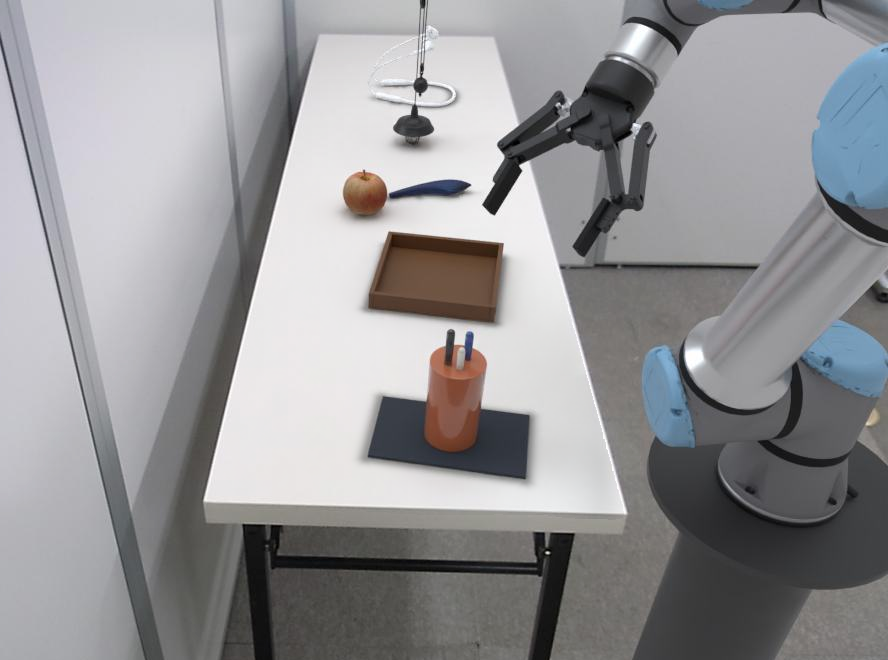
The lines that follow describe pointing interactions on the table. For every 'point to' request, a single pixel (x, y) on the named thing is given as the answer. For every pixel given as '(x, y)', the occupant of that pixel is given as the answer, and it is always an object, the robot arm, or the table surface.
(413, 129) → the light fixture
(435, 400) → the pen pot
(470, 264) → the tray
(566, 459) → the table surface
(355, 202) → the apple
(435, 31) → the earphone
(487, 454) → the mat
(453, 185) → the tapered navy handle
